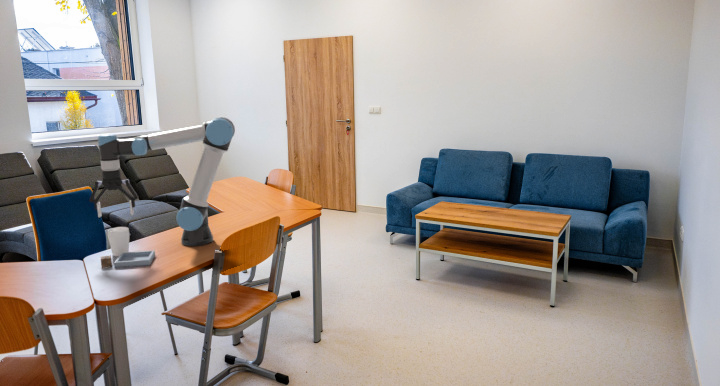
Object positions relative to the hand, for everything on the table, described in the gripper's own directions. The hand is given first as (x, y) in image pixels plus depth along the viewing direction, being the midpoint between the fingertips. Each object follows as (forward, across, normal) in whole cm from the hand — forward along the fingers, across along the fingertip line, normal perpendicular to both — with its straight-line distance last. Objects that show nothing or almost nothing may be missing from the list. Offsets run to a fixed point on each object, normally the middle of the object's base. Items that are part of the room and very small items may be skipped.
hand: (116, 215), depth 227 cm
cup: (+19, 0, 0) cm, 19 cm away
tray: (+19, -9, +13) cm, 24 cm away
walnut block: (+19, +2, +16) cm, 25 cm away
